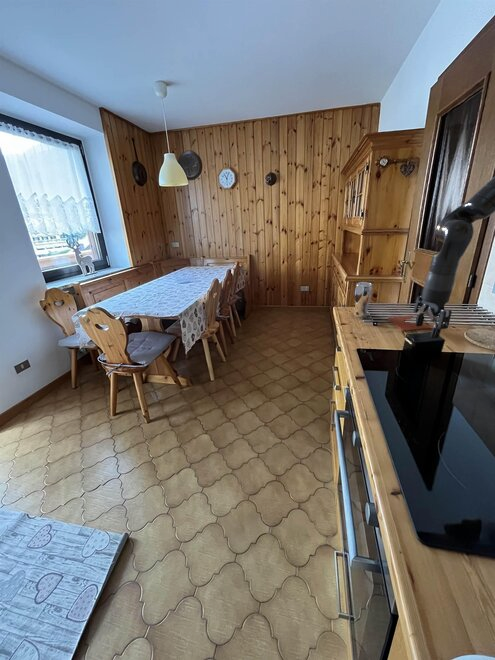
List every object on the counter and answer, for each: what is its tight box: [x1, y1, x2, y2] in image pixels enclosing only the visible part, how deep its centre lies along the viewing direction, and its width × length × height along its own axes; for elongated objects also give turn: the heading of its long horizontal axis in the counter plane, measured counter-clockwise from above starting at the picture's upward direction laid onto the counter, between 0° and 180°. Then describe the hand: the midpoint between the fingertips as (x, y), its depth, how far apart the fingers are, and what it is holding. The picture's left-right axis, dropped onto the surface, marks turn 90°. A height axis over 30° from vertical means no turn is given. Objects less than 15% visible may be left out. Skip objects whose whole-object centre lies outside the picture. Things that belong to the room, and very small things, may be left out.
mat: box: [387, 315, 432, 332], centre depth 121 cm, size 12×12×1 cm
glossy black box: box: [401, 331, 446, 361], centre depth 98 cm, size 11×6×7 cm, turn 93°
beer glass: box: [353, 281, 373, 319], centre depth 127 cm, size 7×7×15 cm
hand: (425, 331), depth 96 cm, fingers open, 8 cm apart
